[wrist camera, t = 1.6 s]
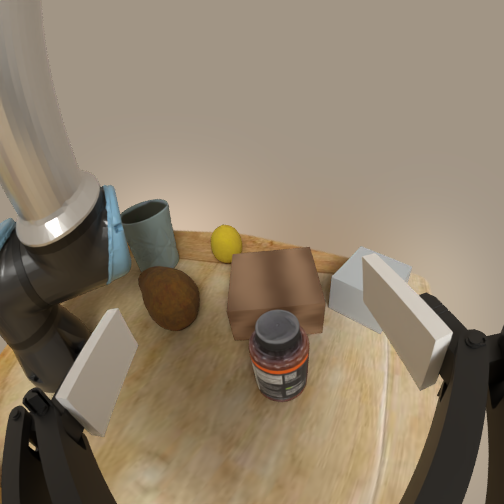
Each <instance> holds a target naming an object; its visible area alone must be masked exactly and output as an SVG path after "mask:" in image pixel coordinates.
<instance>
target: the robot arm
mask: <svg viewBox="0 0 504 504" xmlns="http://www.w3.org/2000/svg"><path fill="white" fill-rule="evenodd" d="M0 184H1V186H2V188H3V189H4V192H5V193H6V195H7V197H8V198H9V200H10V202H11V204H12V205H13V207H14V209H15V210H16V212H17V214H18V216H17V221H16V222H15V221H14V220H13V219H12V218H9V219H7V220H5V221H3V222H2V223H0V336H1V337H2V338H3V339H4V340H5V341H6V342H7V344H8V345H9V346H10V347H11V348H12V350H13V351H14V353H15V355H16V357H17V359H18V361H19V363H20V365H21V367H22V369H23V371H24V373H25V375H26V376H27V378H28V379H29V380H30V381H31V382H32V383H33V384H34V385H35V386H36V387H35V388H33V389H31V390H29V391H28V392H27V393H26V395H25V396H24V398H23V404H24V405H25V406H26V407H27V408H28V410H29V411H30V412H28V411H27V410H26V409H25V408H24V407H23V406H17V407H15V408H14V409H12V411H11V413H10V415H9V419H8V424H7V430H6V436H5V444H4V452H3V463H2V483H1V498H2V504H117V503H116V501H115V499H114V497H113V496H112V494H111V492H110V490H109V488H108V486H107V484H106V482H105V480H104V478H103V476H102V473H101V471H100V469H99V467H98V465H97V462H96V460H95V458H94V455H93V453H92V450H91V448H90V445H89V442H88V440H87V437H86V436H85V435H84V434H83V433H82V432H83V430H84V428H85V429H86V430H87V431H88V432H89V433H90V434H91V435H95V436H101V437H104V435H105V432H106V429H107V426H108V423H109V421H110V418H111V415H112V412H113V409H114V406H115V404H116V401H117V398H118V396H119V393H120V390H121V388H122V385H123V382H124V380H125V377H126V375H127V372H128V370H129V367H130V365H131V362H132V360H133V357H134V355H135V353H136V350H137V348H138V344H137V342H136V340H135V339H134V337H133V335H132V333H131V331H130V330H129V328H128V326H127V324H126V322H125V320H124V318H123V316H122V315H121V313H120V311H119V309H118V308H115V309H109V310H107V311H106V313H105V314H104V316H103V317H102V319H101V321H100V322H99V324H98V325H97V327H96V328H95V330H94V331H93V333H92V334H91V333H90V331H89V330H88V329H87V327H86V326H85V324H84V323H83V322H82V321H81V320H80V319H79V318H77V317H76V316H74V315H73V314H72V313H70V312H69V311H68V310H66V309H65V308H64V307H62V306H61V305H60V304H59V303H62V302H64V301H67V300H69V299H72V298H74V297H77V296H79V295H82V294H84V293H87V292H89V291H92V290H94V289H97V288H99V287H102V286H104V285H109V284H110V283H111V282H112V281H114V280H116V279H118V278H120V277H122V276H124V275H126V274H127V273H128V272H129V270H130V268H131V257H130V253H129V249H128V245H127V241H126V237H125V233H124V229H123V226H122V221H121V216H120V211H119V207H118V202H117V197H116V193H115V189H114V187H113V186H112V185H109V186H106V185H104V186H102V187H100V184H99V182H98V180H97V178H96V176H95V175H94V174H92V173H90V172H88V171H84V170H80V169H79V167H78V164H77V161H76V158H75V156H74V153H73V150H72V147H71V144H70V141H69V138H68V135H67V132H66V129H65V125H64V122H63V119H62V115H61V112H60V108H59V104H58V101H57V97H56V93H55V89H54V84H53V80H52V75H51V71H50V65H49V60H48V55H47V48H46V42H45V34H44V26H43V16H42V2H41V0H0ZM362 269H363V302H364V303H365V305H366V306H367V308H368V309H369V311H370V312H371V314H372V315H373V317H374V318H375V320H376V321H377V323H378V324H379V326H380V327H381V329H382V330H383V332H384V333H385V335H386V336H387V338H388V339H389V341H390V343H391V344H392V346H393V347H394V349H395V350H396V352H397V354H398V355H399V357H400V358H401V360H402V362H403V363H404V365H405V367H406V368H407V370H408V371H409V373H410V375H411V376H412V378H413V380H414V382H415V383H416V385H417V387H418V388H419V390H420V391H421V390H423V389H425V388H427V387H429V386H431V385H433V384H435V383H436V381H437V378H438V376H439V374H440V376H441V377H442V379H443V380H444V381H443V383H442V385H441V388H440V390H439V392H438V394H437V396H439V399H438V403H437V407H436V411H435V414H434V418H433V421H432V424H431V428H430V431H429V434H428V437H427V440H426V443H425V446H424V448H423V451H422V454H421V457H420V459H419V462H418V464H417V467H416V469H415V471H414V474H413V476H412V478H411V480H410V483H409V485H408V487H407V489H406V491H405V493H404V495H403V497H402V499H401V501H400V503H399V504H462V502H463V499H464V497H465V494H466V491H467V488H468V485H469V482H470V479H471V476H472V472H473V469H474V466H475V461H476V458H477V454H478V450H479V445H480V440H481V435H482V430H483V424H484V418H485V411H486V412H487V422H488V443H489V464H488V465H489V467H488V484H487V494H486V503H485V504H504V326H503V329H502V331H501V333H499V334H494V335H490V336H486V335H485V334H484V333H482V332H480V331H478V330H475V329H473V330H467V329H466V328H465V327H464V326H463V325H462V323H461V322H460V321H459V320H458V319H457V318H456V317H455V316H454V315H453V314H452V313H451V312H450V311H448V309H447V308H446V307H445V306H444V305H442V303H441V302H440V301H439V300H438V299H437V298H436V297H434V296H432V295H430V294H428V293H423V294H421V295H418V294H417V293H416V292H415V291H414V290H413V289H412V288H411V287H410V286H409V285H408V284H407V283H406V282H405V281H404V280H403V279H402V278H401V277H400V276H399V275H398V274H397V273H396V272H395V271H394V270H393V269H392V268H391V267H390V266H389V265H387V264H386V263H385V262H384V261H383V260H382V259H381V258H380V257H379V256H378V255H377V254H376V253H373V254H369V255H365V256H362ZM43 391H44V392H49V393H54V392H55V394H54V396H53V398H52V399H51V400H50V399H49V398H48V397H47V396H46V394H45V393H44V392H43ZM29 442H30V443H31V444H33V445H34V446H35V447H36V450H35V451H34V450H33V449H31V448H30V447H29Z"/></svg>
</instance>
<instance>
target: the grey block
mask: <svg viewBox="0 0 504 504" xmlns="http://www.w3.org/2000/svg"><path fill="white" fill-rule="evenodd" d="M373 253H376V254H377V255H378V256H379V257H380V258H381V259H382V260H383V261H384V262H385V263H386V264H387V265H389V266H390V267H391V268H392V269H393V270H394V271H395V272H396V273H397V274H398V275H399V276H400V277H401V278H402V279H403V280H404V281H405V282H406V283H408V279H409V276H410V273H411V269H412V267H411V266H409V265H407V264H404V263H402V262H399V261H397V260H395V259H392V258H389V257H387V256H385V255H382V254H379V253H377V252H375V251H372V250H369V249H367V248H364V247H362V246H361V247H360V248H359V249H358V250H357V251H356V252H355V253H354V254H353V255H352V256H351V257H350V258H349V259H348V260H347V262H346V263H345V264H344V265H343V266H342V267H341V268H340V269H339V270H338V271H337V272H336V273H335V274H334V275H333V276H332V278H331V289H330V298H329V308H331V309H333V310H335V311H336V312H338V313H340V314H342V315H344V316H346V317H348V318H350V319H352V320H354V321H356V322H358V323H360V324H362V325H364V326H366V327H368V328H370V329H372V330H373V331H375V332H377V333H379V334H381V332H382V331H383V330H382V329H381V327H380V326H379V324H378V323H377V321H376V320H375V318H374V317H373V315H372V314H371V312H370V311H369V309H368V308H367V306H366V305H365V303H364V302H363V269H362V256H365V255H369V254H373Z"/></svg>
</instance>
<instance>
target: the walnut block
mask: <svg viewBox="0 0 504 504" xmlns="http://www.w3.org/2000/svg"><path fill="white" fill-rule="evenodd" d="M271 310H286V311H288V312H291V313H292V314H294V315H295V316H296V317H297V319H298V321H299V325H300V326H301V327H302V328H303V329H304V330H305V332H306V334H307V335H308V334H316V333H322V330H323V322H324V313H325V299H324V295H323V291H322V288H321V284H320V281H319V277H318V274H317V270H316V267H315V263H314V260H313V256H312V253H311V250H310V247H305V248H294V249H283V250H273V251H262V252H251V253H240V254H233V255H232V264H231V274H230V284H229V295H228V305H227V314H228V318H229V321H230V325H231V329H232V332H233V336H234V340H250V337H251V335H252V333H253V332H254V331H255V325H256V322H257V320H258V318H259V317H260V316H261V315H263V314H264V313H266V312H268V311H271Z"/></svg>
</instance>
